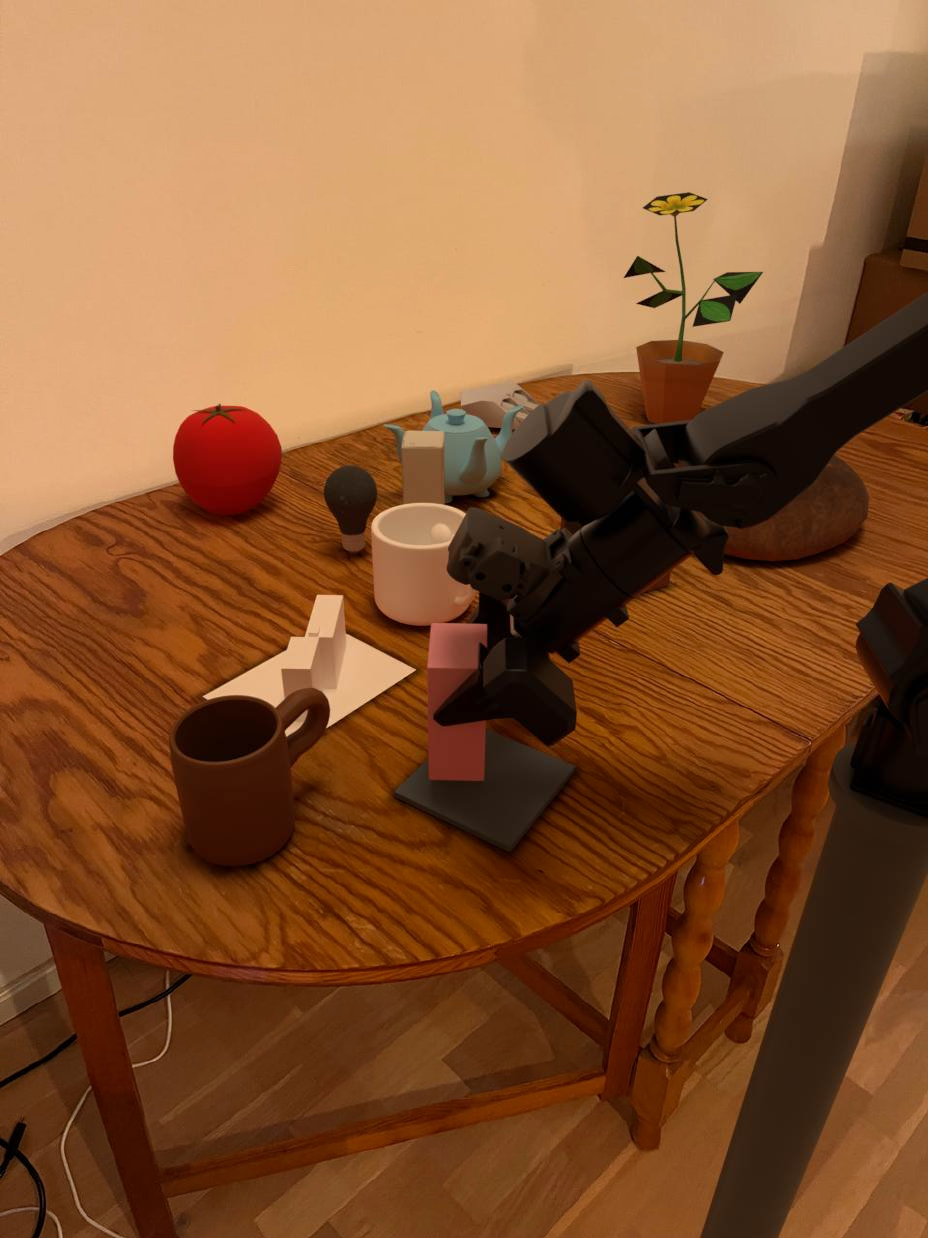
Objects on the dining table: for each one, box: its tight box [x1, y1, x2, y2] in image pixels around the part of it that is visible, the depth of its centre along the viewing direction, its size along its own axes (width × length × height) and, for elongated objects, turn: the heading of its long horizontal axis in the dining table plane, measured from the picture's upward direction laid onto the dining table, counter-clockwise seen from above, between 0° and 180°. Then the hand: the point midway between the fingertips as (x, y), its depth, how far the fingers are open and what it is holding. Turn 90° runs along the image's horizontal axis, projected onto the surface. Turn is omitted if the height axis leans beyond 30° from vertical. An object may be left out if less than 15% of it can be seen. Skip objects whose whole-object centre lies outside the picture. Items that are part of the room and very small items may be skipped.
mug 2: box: [370, 503, 477, 627], centre depth 88 cm, size 12×10×9 cm
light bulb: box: [323, 464, 378, 555], centre depth 98 cm, size 6×6×10 cm
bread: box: [674, 454, 870, 562], centre depth 108 cm, size 28×27×9 cm
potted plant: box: [623, 191, 764, 424], centre depth 128 cm, size 18×19×30 cm
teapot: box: [382, 389, 524, 504], centre depth 112 cm, size 13×13×10 cm
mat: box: [393, 728, 576, 853], centre depth 69 cm, size 10×10×1 cm
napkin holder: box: [202, 594, 416, 737], centre depth 78 cm, size 15×11×6 cm
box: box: [401, 429, 446, 505], centre depth 98 cm, size 5×4×13 cm
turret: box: [459, 380, 540, 431], centre depth 132 cm, size 10×20×5 cm, turn 64°
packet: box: [426, 622, 487, 781], centre depth 65 cm, size 4×6×10 cm
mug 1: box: [168, 687, 330, 868], centre depth 64 cm, size 12×8×9 cm, turn 135°
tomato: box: [172, 403, 283, 516], centre depth 106 cm, size 12×12×13 cm
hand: (439, 695), depth 65 cm, fingers closed on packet, 5 cm apart
